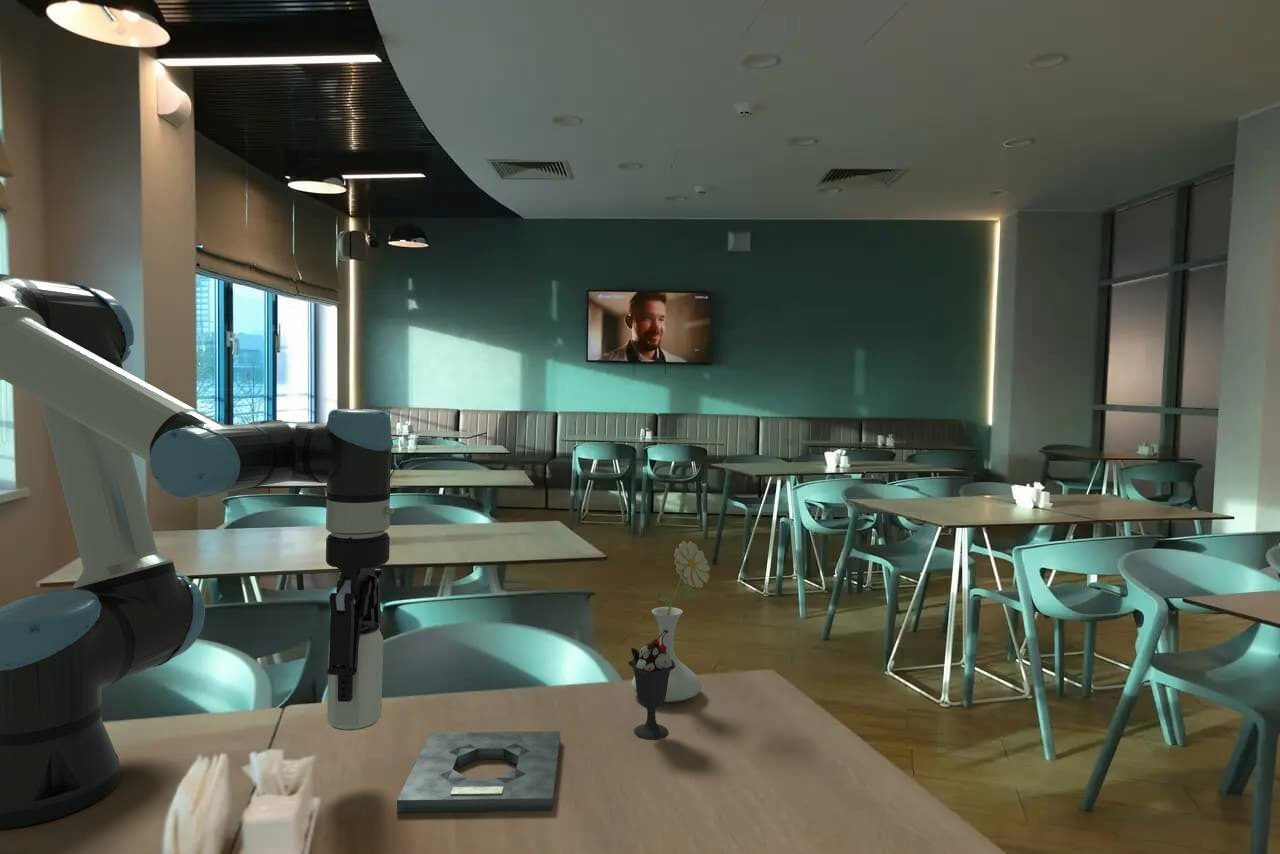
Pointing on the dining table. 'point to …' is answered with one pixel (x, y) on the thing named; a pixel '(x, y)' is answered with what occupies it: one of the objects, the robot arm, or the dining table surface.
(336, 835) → the dining table surface
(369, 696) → the can
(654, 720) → the sundae
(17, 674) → the robot arm
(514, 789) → the socket plate
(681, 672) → the flower in vase
